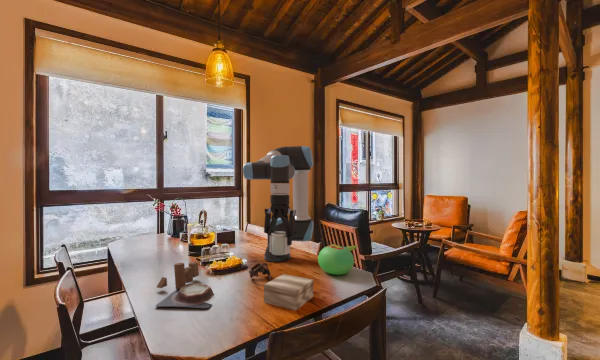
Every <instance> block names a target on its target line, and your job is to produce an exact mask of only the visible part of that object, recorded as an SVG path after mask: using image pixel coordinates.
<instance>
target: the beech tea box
mask: <svg viewBox="0 0 600 360" xmlns="http://www.w3.org/2000/svg"><path fill="white" fill-rule="evenodd" d="M313 297H314V279H312V278H306V277H302V276H296V275H291V274H286V273H283V274H280V275H279V276H277V277H275V278H274V279H271V280H269V281H268V282H266V283H264V284H263V303H265V304H269V305H274V306H277V307H279V308H280V307H281V308H284V309H288V310H292V311H297V310H299V309H300V308H302V306H304V305H305V304H306V303H307V302H308V301H310V300H311V299H312V298H313Z"/></svg>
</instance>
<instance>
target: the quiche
mask: <svg viewBox="0 0 600 360" xmlns="http://www.w3.org/2000/svg"><path fill="white" fill-rule="evenodd" d="M213 296H215V293H214V291H213V289H212V287H211V286H209V284H206V283H204V284H203V283H202V284H201V283H193V284H186V286H183V287H181V289H176V290H173V292H171V293H170V294H169V295H167V296H166V297H164V298H163V299H162V300H161V301H160V302H158V303H157V304H156V305H155V307H178V308H179V307H180V308H181V307H182V308H195V309H209V308H210V307H211V306H212V305H213V304H212V303H208V302H207V301H209V300H211V298H212V297H213Z"/></svg>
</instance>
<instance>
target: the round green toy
mask: <svg viewBox="0 0 600 360" xmlns="http://www.w3.org/2000/svg"><path fill="white" fill-rule="evenodd" d="M357 248H358V245H355V244H354V245H349V246H343V245H336V244H335V243H332V244H330V245H327V246H324V247H323V248H322V249H321V250H320V251H319V253H318V256H317V261H318V265H319V267H320V268H321V269H322V270H323V272H326V273H327V274H331V275H333V276H340V275H341V276H342V275H345V274H348V273H349V272H350V271H351V270H352V269H353V267H354V265H355V264H354V263H355V258H354V255H353V253H352V251H353V250H355V249H357Z"/></svg>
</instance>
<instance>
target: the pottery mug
mask: <svg viewBox="0 0 600 360" xmlns="http://www.w3.org/2000/svg"><path fill="white" fill-rule="evenodd" d="M248 273H249V278H250V279H253V278H254V277H259V273H260V274H261V273H262V275H267V278H268V281H271V280H272V274H271V271H270V269H269V266H268V264H267V263H265V262H263V263H262V262H258V263H257V264H254V265H253V266H252V267H251V268H250V269H249V270H248Z"/></svg>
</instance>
